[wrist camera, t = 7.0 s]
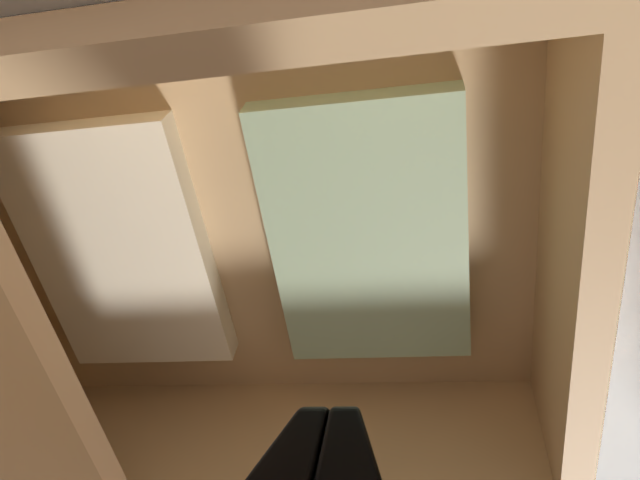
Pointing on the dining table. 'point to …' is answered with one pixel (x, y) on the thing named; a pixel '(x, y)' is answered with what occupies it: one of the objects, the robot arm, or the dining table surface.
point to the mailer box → (330, 222)
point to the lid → (42, 393)
